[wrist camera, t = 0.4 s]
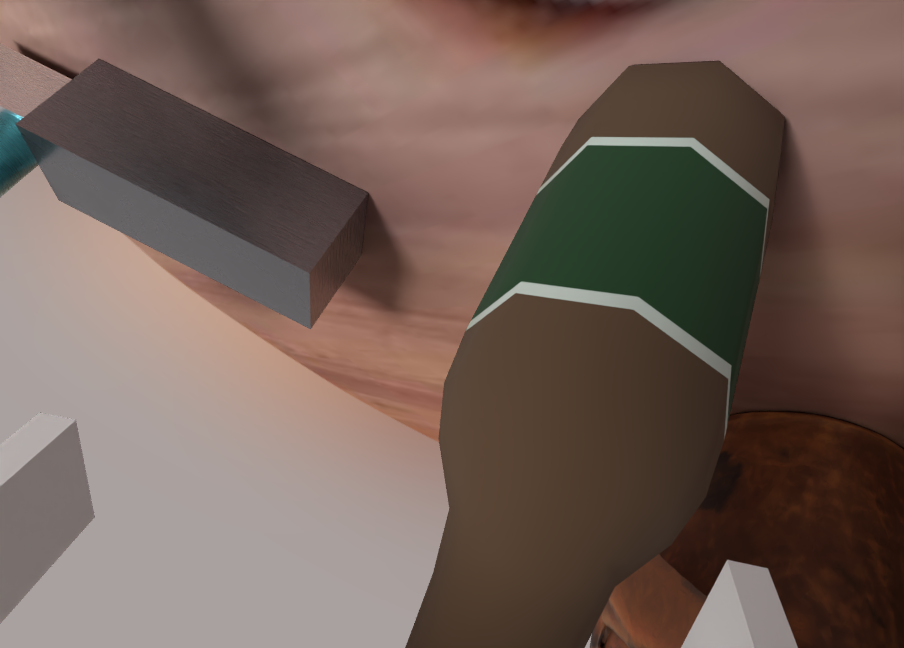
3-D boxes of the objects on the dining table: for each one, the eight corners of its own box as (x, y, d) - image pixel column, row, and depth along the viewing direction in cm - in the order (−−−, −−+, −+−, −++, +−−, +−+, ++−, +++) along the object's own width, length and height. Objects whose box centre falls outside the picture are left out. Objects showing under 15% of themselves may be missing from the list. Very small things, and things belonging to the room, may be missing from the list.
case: (907, 334, 25) (869, 852, 17) (1073, 562, 32) (1107, 1005, 24) (584, 383, 39) (472, 675, 31) (749, 534, 47) (697, 805, 38)
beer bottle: (631, 239, 28) (382, 891, 16) (540, 98, 24) (121, 815, 12) (825, 196, 22) (671, 1158, 10) (747, 3, 18) (351, 1176, 6)
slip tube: (-17, 34, 35) (-329, 241, 26) (294, 191, 34) (75, 457, 25) (10, 85, 38) (-260, 285, 29) (296, 230, 37) (101, 479, 28)
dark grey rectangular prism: (98, 58, 34) (15, 123, 31) (368, 193, 33) (309, 273, 30) (127, 137, 39) (58, 200, 36) (361, 255, 38) (310, 329, 35)
